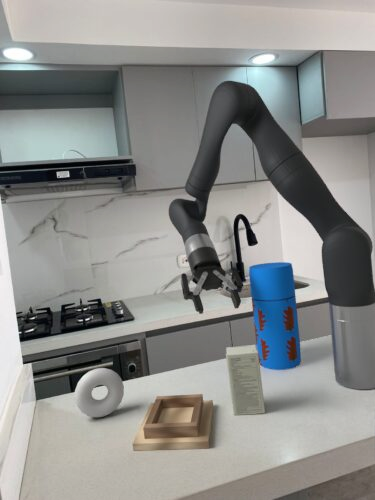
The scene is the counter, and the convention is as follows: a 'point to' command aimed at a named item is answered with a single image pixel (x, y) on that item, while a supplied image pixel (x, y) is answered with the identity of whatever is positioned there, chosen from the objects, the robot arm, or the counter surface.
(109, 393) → the donut
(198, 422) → the wooden square holder
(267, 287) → the thermos
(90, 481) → the counter surface
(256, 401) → the skincare box
